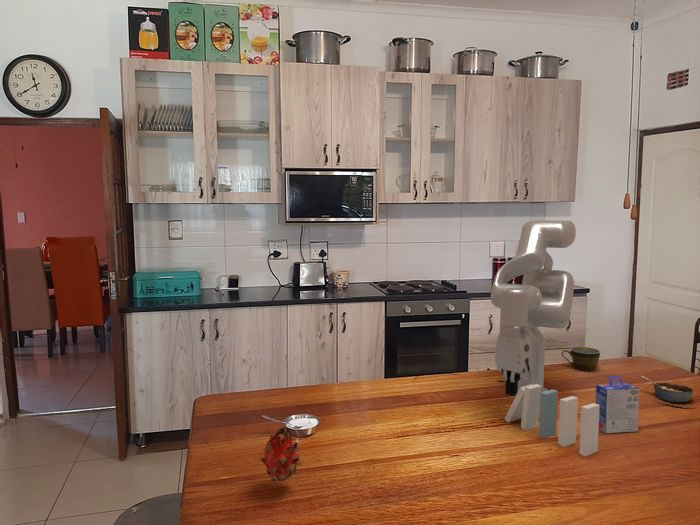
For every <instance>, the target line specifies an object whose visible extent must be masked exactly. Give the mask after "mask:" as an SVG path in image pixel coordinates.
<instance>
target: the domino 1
mask: <svg viewBox="0 0 700 525" xmlns="http://www.w3.org/2000/svg"><path fill="white" fill-rule="evenodd" d="M528 386H531V385H528ZM525 387H527V386H523V387H520V389H519V391H518V393H517V395H515V397H514V399H513V401H512V402H511V403H512V404H511V405H510V407H509V408H508V409H509V410H508V411H507V412H506V416H504V417H505V418H504V420H505V421H506V422H507V423H511V422H514V421H517V420H520V419H521V420H522V410H523V400H524V390H525Z"/></svg>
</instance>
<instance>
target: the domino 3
mask: <svg viewBox="0 0 700 525" xmlns="http://www.w3.org/2000/svg"><path fill="white" fill-rule="evenodd" d="M558 395H559V391H558V390H556V389H550V390H549V389H548V391H545V392H541V394H540V407H539V421H538V425H539V426H538V427H539V429H538V430H539V431H538V437H539V438H542V439H547V438H550V437H553V436H556V435H557V428H558V427H557V424H558V423H557V421H558V400H559V399H558V397H559V396H558Z"/></svg>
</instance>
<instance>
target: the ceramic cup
mask: <svg viewBox="0 0 700 525" xmlns="http://www.w3.org/2000/svg"><path fill="white" fill-rule="evenodd" d="M564 353H568V354H569V356H570V357H571V360H572V361H570V360H569V359H568V358H566V357H565V356H564ZM561 356H562V357H563V358H564V359H565V360H566V361H567V362H568V363H569V364H570V365H571V367H573V369H575V370H577V371H578V372H584V373H593V372H596V371H597V368H598V364H599V360H600V357H601V350H599V349H597V348H593V347H587V346H574V347H571V348H570V350H567V349H565V350H563V351H562V352H561Z"/></svg>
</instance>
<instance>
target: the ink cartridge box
mask: <svg viewBox="0 0 700 525" xmlns="http://www.w3.org/2000/svg"><path fill="white" fill-rule="evenodd" d="M614 379H615V380H619V381H613V380H614ZM608 381H609V383H603V384H596V385H595V404H598V405H600V409H599V430H600V431H601V432H603V433H604V434H615V433H616V434H617V433H629V432H638V430H639V402H640V388H639V387H637V386H635V385H633V384H632V383H631V384H630V383H628V382H623V380H622V378H621V376H620V375H613V376H612V375H610V376H609V375H608Z"/></svg>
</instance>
